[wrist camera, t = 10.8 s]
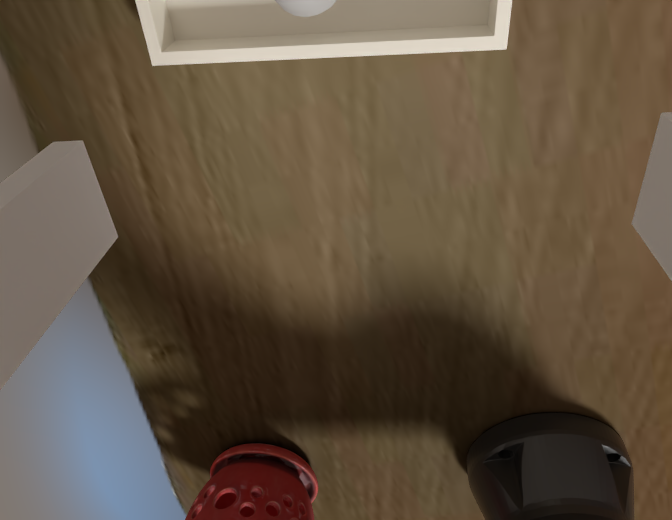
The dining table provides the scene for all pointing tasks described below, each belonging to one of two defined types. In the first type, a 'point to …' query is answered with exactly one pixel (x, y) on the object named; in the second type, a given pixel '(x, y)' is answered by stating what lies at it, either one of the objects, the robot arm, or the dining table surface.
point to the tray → (318, 29)
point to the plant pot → (257, 486)
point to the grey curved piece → (305, 6)
